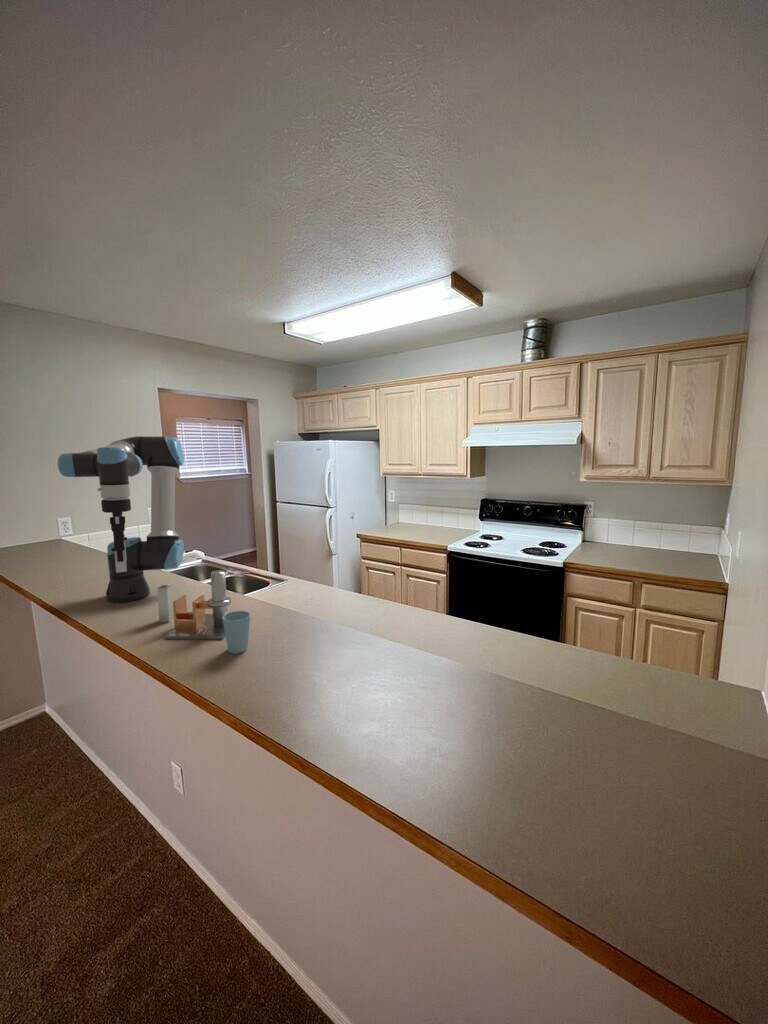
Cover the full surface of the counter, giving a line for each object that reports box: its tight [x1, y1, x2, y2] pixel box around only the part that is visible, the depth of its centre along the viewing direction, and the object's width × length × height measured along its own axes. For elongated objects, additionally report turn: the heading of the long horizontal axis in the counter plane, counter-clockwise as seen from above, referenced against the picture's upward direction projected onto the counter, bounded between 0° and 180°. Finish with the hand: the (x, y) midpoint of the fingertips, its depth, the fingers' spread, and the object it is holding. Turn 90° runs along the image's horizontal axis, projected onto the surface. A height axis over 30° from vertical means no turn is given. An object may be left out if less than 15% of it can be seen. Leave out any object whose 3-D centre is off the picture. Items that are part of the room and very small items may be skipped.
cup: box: [222, 610, 251, 654], centre depth 125 cm, size 8×8×10 cm
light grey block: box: [156, 584, 174, 623], centre depth 146 cm, size 3×3×12 cm
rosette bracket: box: [164, 569, 232, 640], centre depth 140 cm, size 18×18×19 cm
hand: (121, 566), depth 133 cm, fingers open, 13 cm apart
